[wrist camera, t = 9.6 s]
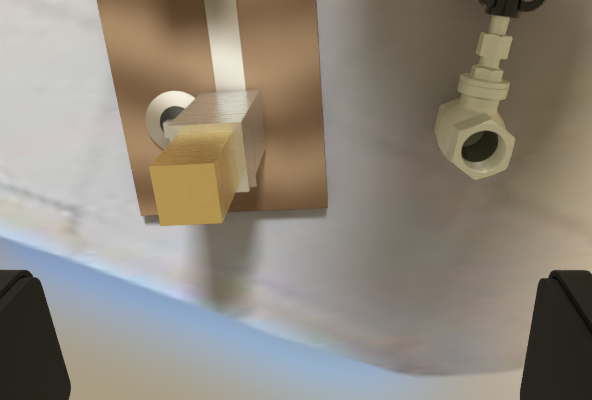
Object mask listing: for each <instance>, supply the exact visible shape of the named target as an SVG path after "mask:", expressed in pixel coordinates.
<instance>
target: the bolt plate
mask: <svg viewBox="0 0 592 400" xmlns="http://www.w3.org/2000/svg"><path fill="white" fill-rule="evenodd" d="M97 4H98V9H99V14H100V18H101V23H102V28H103V33H104V38H105V43H106V48H107V52H108V57H109V62H110V67H111V72H112V77H113V82H114V86H115V91H116V96H117V101H118V106H119V111H120V116H121V120H122V125H123V130H124V135H125V140H126V145H127V150H128V154H129V159H130V164H131V169H132V174H133V179H134V184H135V188H136V193H137V198H138V203H139V208H140V213H141V216H145V215H158V211H157V206H156V200H155V195H154V190H153V185H152V180H151V174H150V169H149V166H150V165H151V164H152V163H153V161H154V160H155V159H156V158H157V157H158V156H159V155H160V154H161V153H162V152H163V150H164V149H165V148H166V147H167V146H168V145H169V144H170V139H169V138H165V134H164V128H163V123H164V122H165V121H166V120H167V119H175V118H176V117H177V116H178V115H179V114H180V113H181V112H182V111H183V110H184V109H185V108H186V107H187V106H188V105H189V104H190V103H191V102H192V101H193V100H194V99H195V98H196V97H197V96H198V95H199V94H200V93H213V92H229V91H245V90H260V96H261V105H262V115H263V125H264V135H265V145H266V148H265V151H264V153H263V156H262V159H261V161H260V164H259V167H258V170H257V172H256V175H255V178H254V180H253V183H252V186H251V188H250V191H249V192H236V193H235V195H234V198H233V200H232V202H231V205H230V207H229V209H228V212H240V211H264V210H288V209H312V208H328V197H327V179H326V162H325V144H324V127H323V109H322V92H321V74H320V56H319V39H318V21H317V4H316V0H97Z"/></svg>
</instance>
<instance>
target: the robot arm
mask: <svg viewBox="0 0 592 400" xmlns="http://www.w3.org/2000/svg"><path fill="white" fill-rule="evenodd" d="M70 391H71V384H70V379H69V376H68V373H67V369H66V366H65V363H64V359H63V356H62V352H61V349H60V345H59V342H58V339H57V335H56V332H55V328H54V325H53V322H52V318H51V315H50V312H49V308H48V305H47V301H46V298H45V295H44V291H43V288H42V285H41V282H40V280H39V279H38V278H35V277H33V275H32V274H31V273H30V272H29V271H27V270H0V400H69V396H70ZM520 400H592V274H591V273H590V272H589V271H586V270H554V271H552V272H551V273H550V275H549V278H542V279H540V281H539V283H538V288H537V294H536V300H535V306H534V312H533V317H532V323H531V329H530V335H529V341H528V347H527V353H526V359H525V365H524V371H523V377H522V383H521V389H520Z"/></svg>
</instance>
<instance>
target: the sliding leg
mask: <svg viewBox="0 0 592 400" xmlns="http://www.w3.org/2000/svg"><path fill="white" fill-rule="evenodd" d="M163 128H164V134H165V138H169V139H170V144H169V145H168V146H167V147H166V148H165V149H164V150H163V152H162V153H161V154H160V155H159V156H158V157H157V158H156V159H155V160H154V161H153V163H152V164H151V165H150V166H149V169H150V174H151V180H152V185H153V190H154V195H155V200H156V206H157V211H158V216H159V221H160V226H169V225H194V224H218V223H223V221H224V219H225V216H226V214H227V212H228V209H229V207H230V205H231V202H232V200H233V198H234V195H235V193H236V192H249V191H250V188H251V186H252V183H253V180H254V178H255V175H256V172H257V170H258V167H259V164H260V161H261V159H262V156H263V153H264V151H265V148H266V145H265V135H264V125H263V115H262V105H261V96H260V90H245V91H229V92H213V93H200V94H199V95H198V96H197V97H196V98H195V99H194V100H193V101H192V102H191V103H190V104H189V105H188V106H187V107H186V108H185V109H184V110H183V111H182V112H181V113H180V114H179V115H178V116H177V117H176V118H175V119H167V120H166V121H165V122H164V123H163Z"/></svg>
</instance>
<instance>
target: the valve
mask: <svg viewBox="0 0 592 400" xmlns="http://www.w3.org/2000/svg"><path fill="white" fill-rule="evenodd" d="M478 1H479V2H480V3H481V5H483V6H486V8H485V13H486V14H490V15H493V16H492V20H491V24H490V28H489V32H487V31H483V32H481V33H480V37H479V41H478V46H477V50H476V54H477V55H479V56H481V58H480V62H479V64H476V65H473V66H472V70H471V73H463V74H461V76H460V80H459V84H458V88H457V90H458V91H459V92H460V93H462V95H461V97H460V98H457V99H454V100H452V101H449V102H447V103H444V104H441V105H440V107H439V111H438V115H437V119H436V124H435V128H434V133H435V135H436V136H437V141H438V145H439V148H440V150H441V152H442V154H443V155H444V156H445V157H446V158H447V159H448V160H449V161H450V162H452V163H453V164H455V165H456V166H457V167H458V168H459V169H461V170H462V171H463V172H464V173H466V174H467V175H468V176H470V177H471V178H472V179H474V180H478V179H482V178H485V177H489V176H492V175H494V174H497V173H499V172H502V171H504V170H506V169H507V167H508V164H509V162H510V159H511V156H512V152H513V148H514V144H515V138H514V137H513V136H512V135H511V134H510V133H509V132H508V131H507V130H506V128H505V124H504V122H503V119H502V118H501V116H500V115H499V113H498V111H497V109H498V105H499V101H500V100H505V99H506V97H507V94H508V90H509V86H510V82H509V81H507V80H505V79H502V76H503V70H502V69H500V68H499V63H500V59H507V57H508V53H509V50H510V46H511V42H512V39H513V38H512V36H510V35H507V34H506V31H507V27H508V23H509V20H510V17H511V18H519V17H520V13H521V11H522V12H529V11H534V10H536V9H538V8H540V7H541V6H542V5H543V4H544V3H545V2H546V0H533V1H531V2H525V1H524V0H478ZM469 136H470V137H469Z"/></svg>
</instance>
